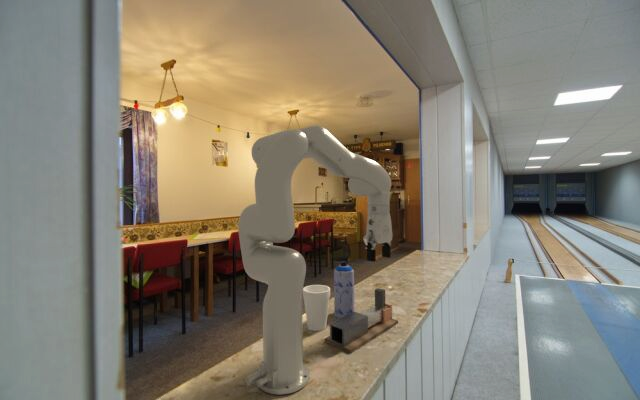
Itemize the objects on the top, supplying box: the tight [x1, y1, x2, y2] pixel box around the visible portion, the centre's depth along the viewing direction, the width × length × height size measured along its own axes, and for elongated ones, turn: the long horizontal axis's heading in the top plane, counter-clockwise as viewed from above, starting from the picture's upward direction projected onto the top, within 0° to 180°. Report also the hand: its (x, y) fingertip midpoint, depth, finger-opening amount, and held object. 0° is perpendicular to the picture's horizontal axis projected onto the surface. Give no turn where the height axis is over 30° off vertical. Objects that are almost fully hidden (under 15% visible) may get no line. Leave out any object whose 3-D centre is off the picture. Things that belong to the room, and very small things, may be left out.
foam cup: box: [302, 284, 331, 332], centre depth 98 cm, size 10×9×13 cm
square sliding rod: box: [360, 287, 388, 328], centre depth 97 cm, size 16×4×10 cm, turn 136°
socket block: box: [370, 302, 393, 323], centre depth 102 cm, size 5×5×5 cm
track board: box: [323, 318, 399, 354], centre depth 94 cm, size 27×10×1 cm, turn 136°
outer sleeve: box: [329, 311, 368, 347], centre depth 88 cm, size 12×5×5 cm, turn 136°
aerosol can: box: [333, 260, 355, 319], centre depth 108 cm, size 8×8×20 cm
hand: (379, 259), depth 101 cm, fingers open, 9 cm apart
